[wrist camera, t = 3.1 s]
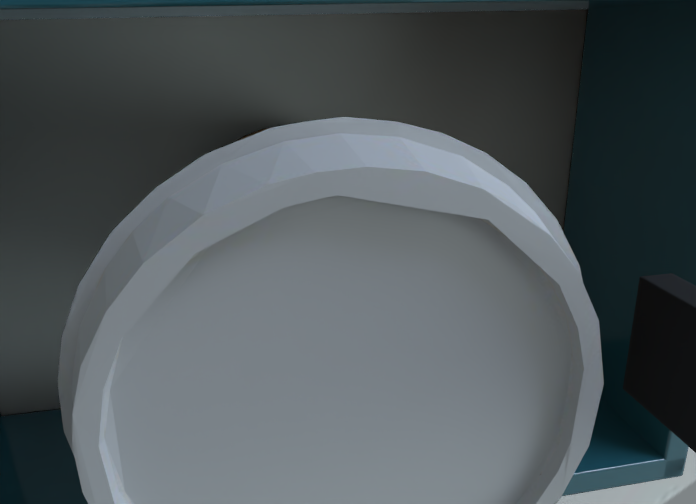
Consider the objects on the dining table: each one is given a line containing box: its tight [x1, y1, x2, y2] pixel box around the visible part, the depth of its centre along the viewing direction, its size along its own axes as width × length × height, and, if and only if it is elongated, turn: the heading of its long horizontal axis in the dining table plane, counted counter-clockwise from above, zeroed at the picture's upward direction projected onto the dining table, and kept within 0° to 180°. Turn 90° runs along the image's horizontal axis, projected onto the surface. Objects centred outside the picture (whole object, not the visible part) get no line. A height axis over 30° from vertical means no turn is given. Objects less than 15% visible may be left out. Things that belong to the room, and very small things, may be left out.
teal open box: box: [0, 0, 696, 504], centre depth 17 cm, size 15×23×7 cm, turn 92°
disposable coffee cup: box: [57, 117, 604, 504], centre depth 15 cm, size 10×10×12 cm
